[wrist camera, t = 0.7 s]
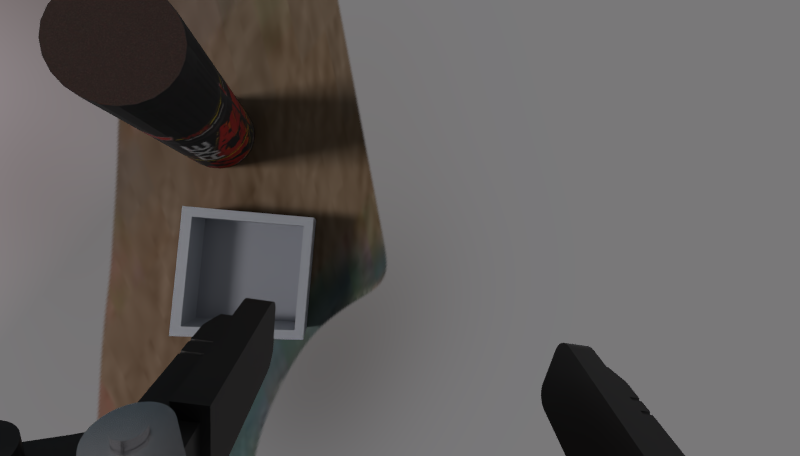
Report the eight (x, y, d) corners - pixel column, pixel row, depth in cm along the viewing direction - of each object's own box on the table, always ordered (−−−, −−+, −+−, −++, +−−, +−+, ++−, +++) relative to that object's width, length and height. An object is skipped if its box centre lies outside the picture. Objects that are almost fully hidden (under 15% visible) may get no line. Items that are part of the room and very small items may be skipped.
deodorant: (206, 181, 31) (91, 130, 16) (164, 120, 31) (8, 11, 16) (268, 145, 32) (213, 66, 17) (229, 86, 32) (138, -47, 17)
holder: (201, 210, 31) (182, 206, 27) (316, 220, 33) (313, 217, 29) (190, 323, 30) (169, 335, 27) (306, 327, 32) (302, 339, 28)
